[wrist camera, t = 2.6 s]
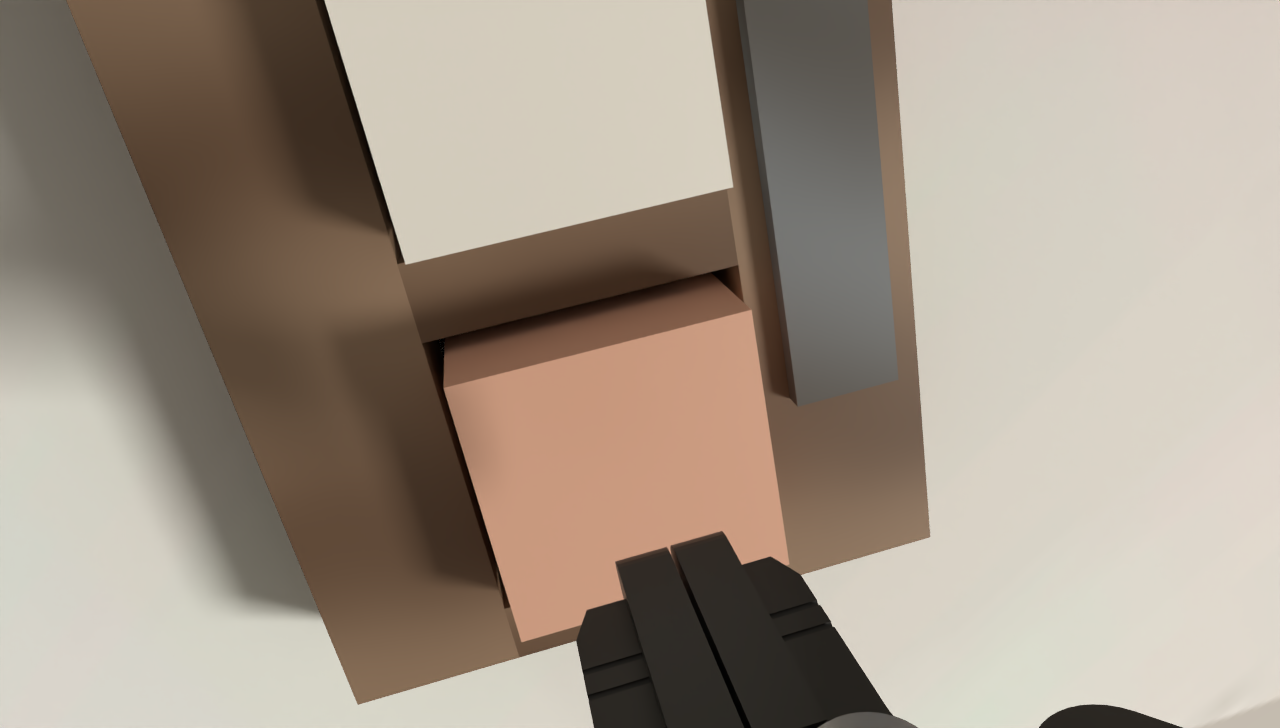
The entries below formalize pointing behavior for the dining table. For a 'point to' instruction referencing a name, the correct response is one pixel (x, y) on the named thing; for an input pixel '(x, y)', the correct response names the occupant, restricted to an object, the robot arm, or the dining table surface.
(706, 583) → the robot arm
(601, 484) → the key terracotta
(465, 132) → the key ivory
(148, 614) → the dining table surface
